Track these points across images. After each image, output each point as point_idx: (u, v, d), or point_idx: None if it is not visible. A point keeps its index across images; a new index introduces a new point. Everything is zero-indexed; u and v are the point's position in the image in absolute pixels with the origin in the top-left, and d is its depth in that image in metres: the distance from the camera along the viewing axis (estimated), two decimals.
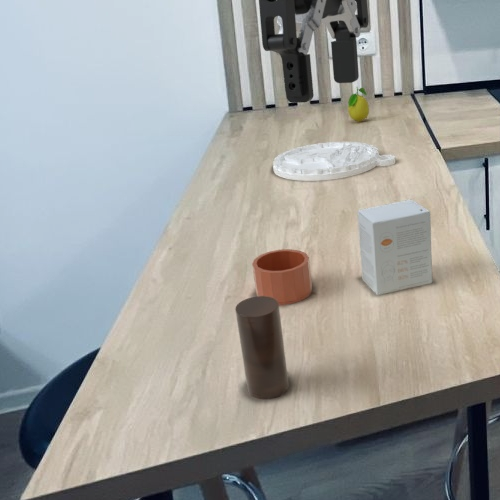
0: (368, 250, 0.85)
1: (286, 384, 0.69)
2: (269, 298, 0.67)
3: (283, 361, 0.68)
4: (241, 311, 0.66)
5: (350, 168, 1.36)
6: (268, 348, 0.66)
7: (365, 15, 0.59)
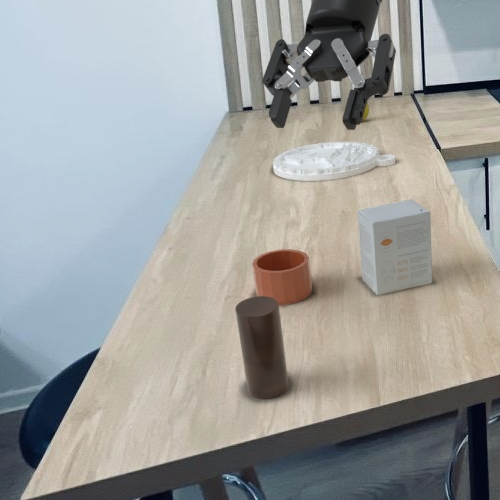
0: (368, 250, 0.85)
1: (286, 384, 0.69)
2: (269, 298, 0.67)
3: (283, 361, 0.68)
4: (241, 311, 0.66)
5: (350, 168, 1.36)
6: (268, 348, 0.66)
7: (376, 74, 0.68)
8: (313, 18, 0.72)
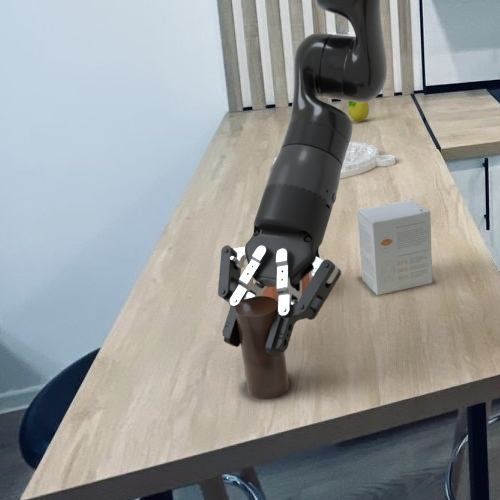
0: (368, 250, 0.85)
1: (286, 384, 0.69)
2: (269, 298, 0.67)
3: (283, 361, 0.68)
4: (241, 311, 0.66)
5: (350, 168, 1.36)
6: None
7: (302, 302, 0.64)
8: (259, 223, 0.68)
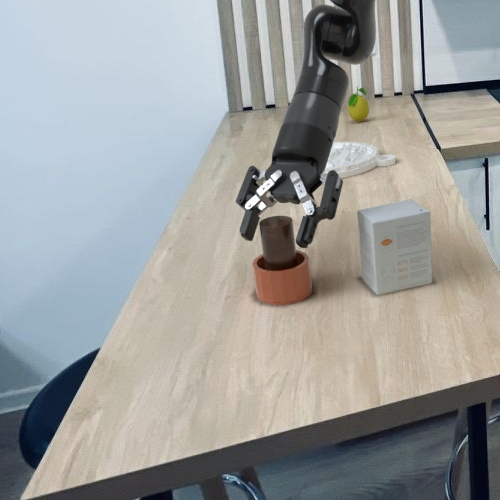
0: (368, 250, 0.85)
1: None
2: (285, 216, 0.88)
3: (296, 265, 0.88)
4: (264, 224, 0.86)
5: (350, 168, 1.36)
6: (284, 253, 0.86)
7: (323, 204, 0.83)
8: (276, 153, 0.88)
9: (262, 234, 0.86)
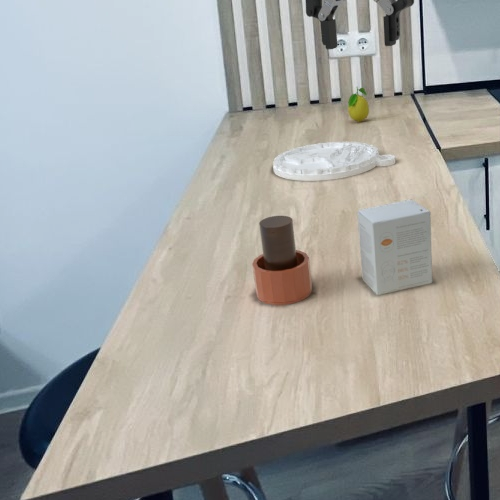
0: (368, 250, 0.85)
1: None
2: (285, 216, 0.88)
3: (296, 265, 0.88)
4: (264, 224, 0.86)
5: (350, 168, 1.36)
6: (284, 253, 0.86)
7: None
8: None
9: (262, 234, 0.86)
